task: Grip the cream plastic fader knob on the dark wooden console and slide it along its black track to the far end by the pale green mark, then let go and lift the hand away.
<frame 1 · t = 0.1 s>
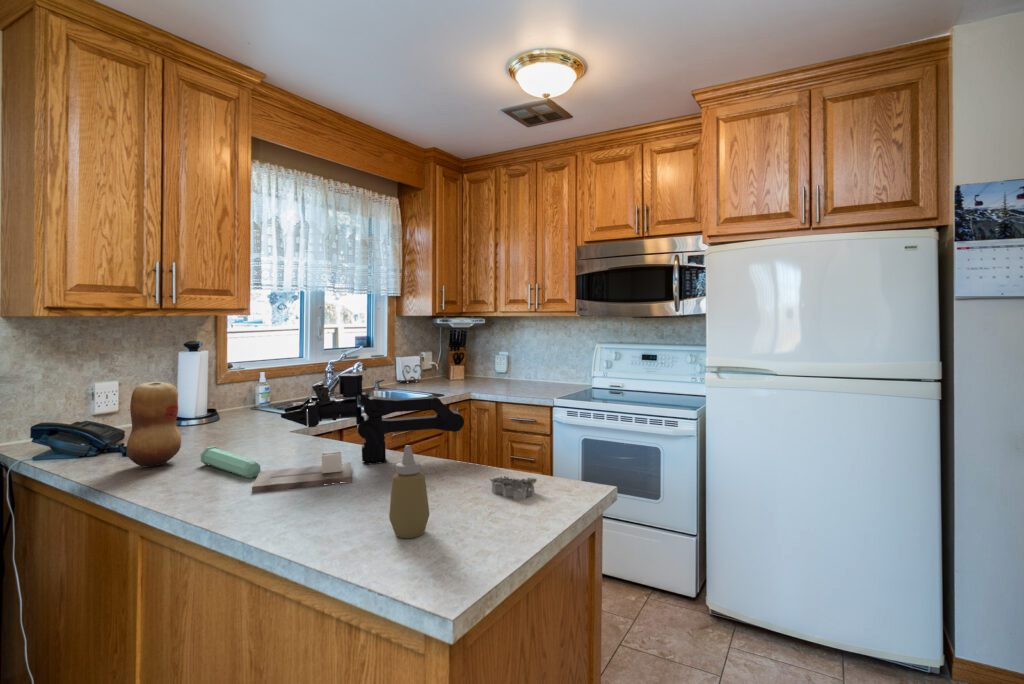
hand: (282, 412, 151), 17 cm above the worktop, tool horizontal, fingers open, 9 cm apart
fader knob: (331, 461, 145), point 4 cm above the worktop, slide at 0.0 cm
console: (305, 479, 143), on the worktop
container: (231, 472, 152), on the worktop
butternut squash: (156, 465, 158), on the worktop
egg carton: (512, 494, 130), on the worktop
squeeze bottle: (409, 534, 107), on the worktop
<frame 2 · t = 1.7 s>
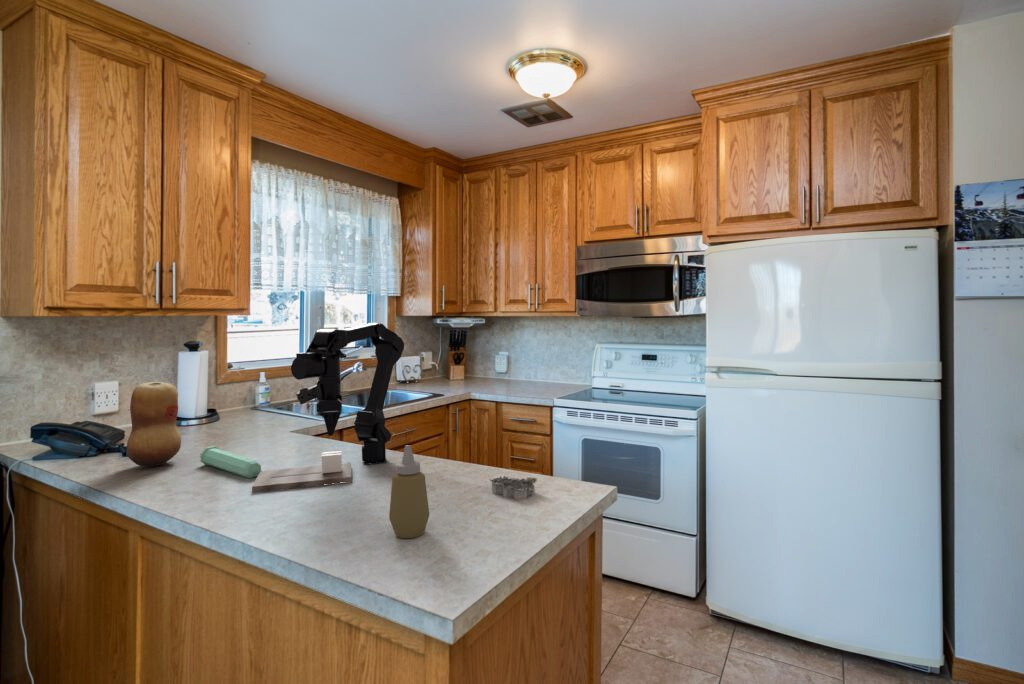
hand: (331, 432, 144), 12 cm above the worktop, tool pointing down, fingers open, 9 cm apart
nothing on the worktop moved.
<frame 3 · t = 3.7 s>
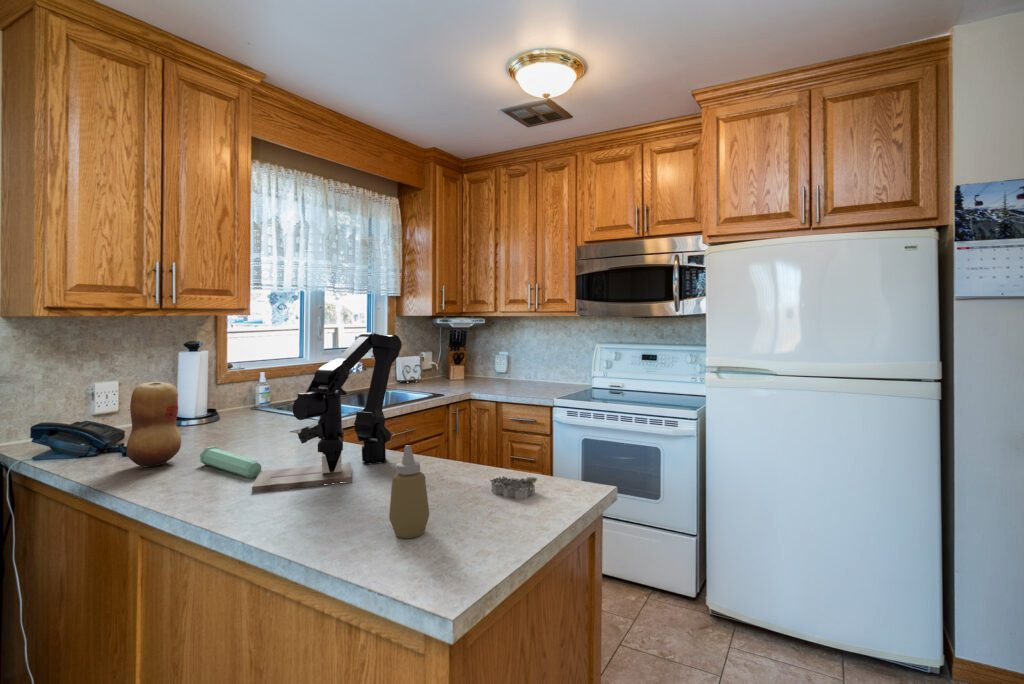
hand: (332, 469, 145), 2 cm above the worktop, tool pointing down, fingers closed on fader knob, 4 cm apart
fader knob: (331, 461, 145), point 4 cm above the worktop, slide at 0.0 cm, touching gripper
everything else where it was.
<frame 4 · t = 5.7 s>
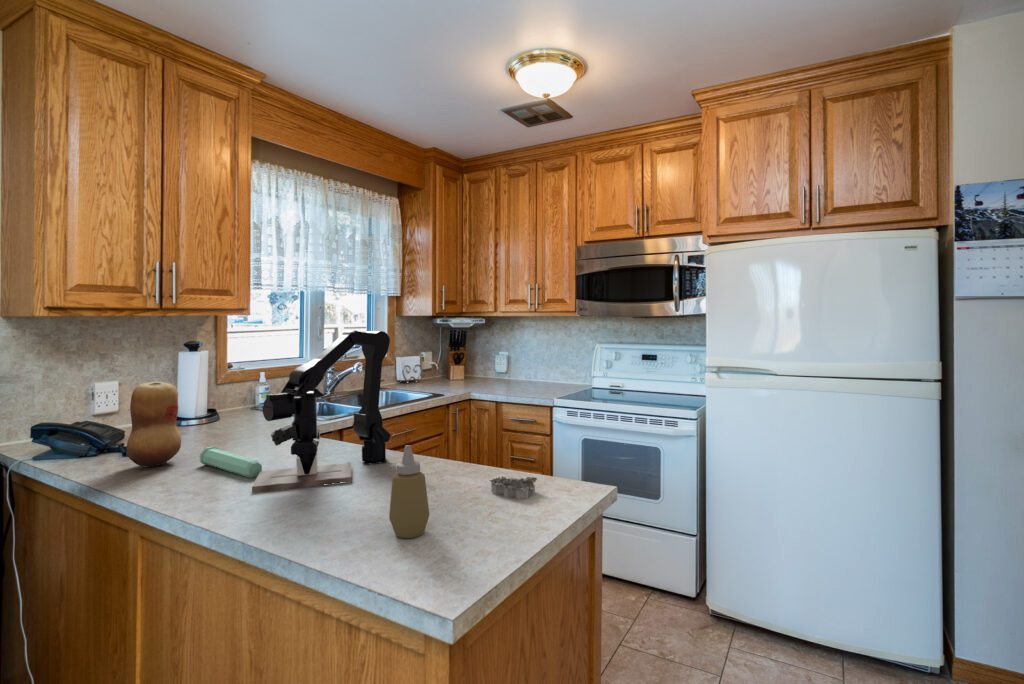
hand: (307, 471, 143), 2 cm above the worktop, tool pointing down, fingers closed on fader knob, 4 cm apart
fader knob: (307, 463, 143), point 4 cm above the worktop, slide at 6.4 cm, touching gripper
everything else where it was.
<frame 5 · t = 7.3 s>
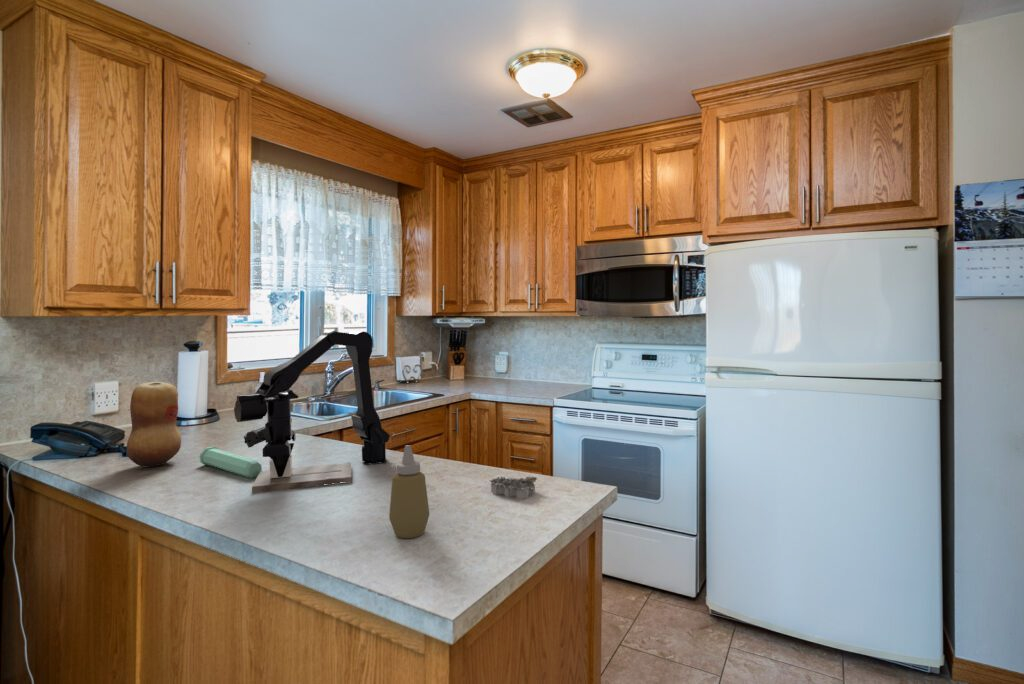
hand: (281, 474, 141), 2 cm above the worktop, tool pointing down, fingers closed on fader knob, 4 cm apart
fader knob: (281, 466, 141), point 4 cm above the worktop, slide at 12.9 cm, touching gripper
everything else where it was.
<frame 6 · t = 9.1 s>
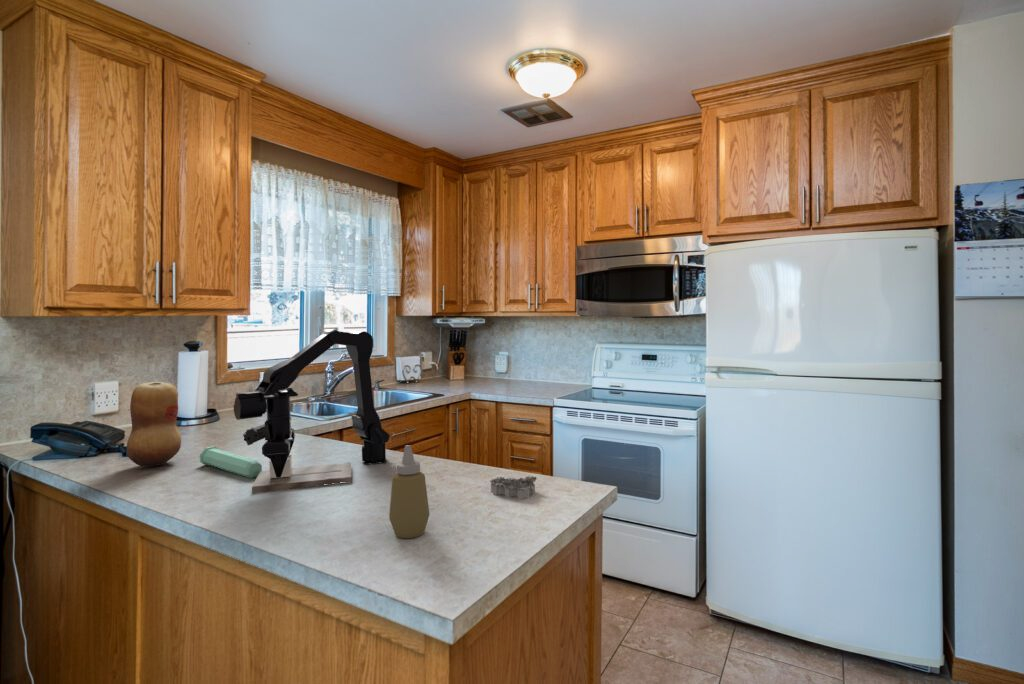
hand: (280, 472, 141), 3 cm above the worktop, tool pointing down, fingers open, 9 cm apart
fader knob: (280, 466, 141), point 4 cm above the worktop, slide at 12.9 cm
everything else where it was.
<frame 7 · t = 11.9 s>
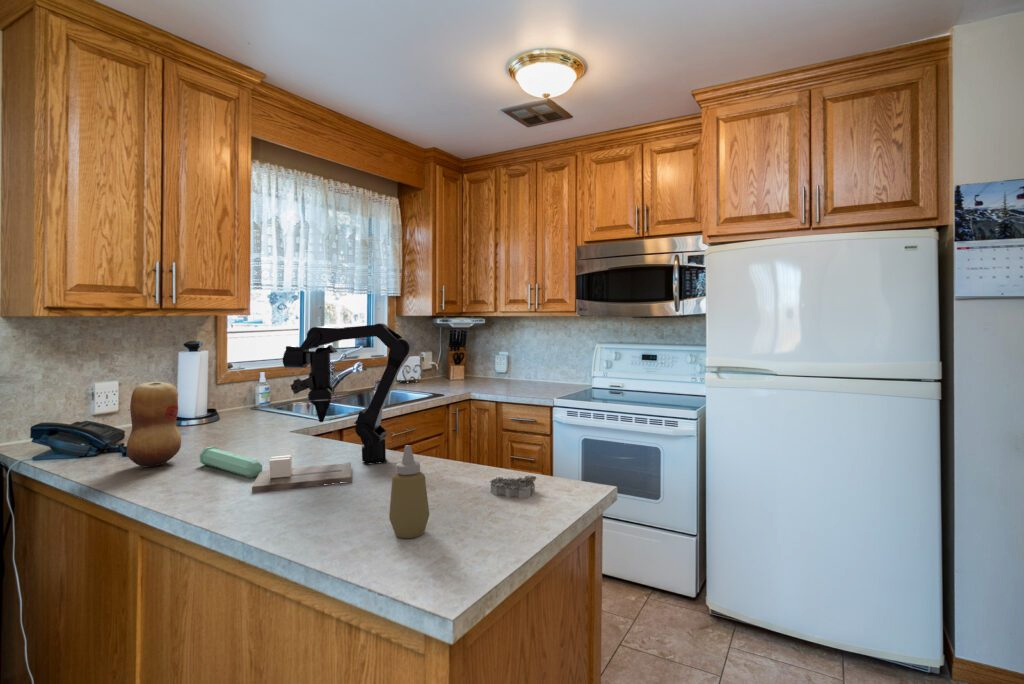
hand: (322, 419, 159), 13 cm above the worktop, tool pointing down, fingers open, 9 cm apart
at the end: fader knob slide at 12.9 cm; the gripper is holding nothing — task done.
